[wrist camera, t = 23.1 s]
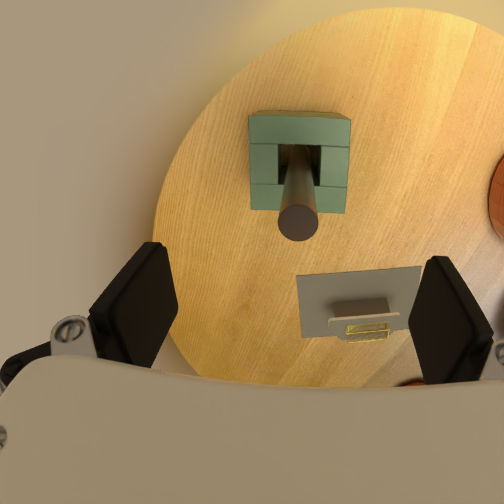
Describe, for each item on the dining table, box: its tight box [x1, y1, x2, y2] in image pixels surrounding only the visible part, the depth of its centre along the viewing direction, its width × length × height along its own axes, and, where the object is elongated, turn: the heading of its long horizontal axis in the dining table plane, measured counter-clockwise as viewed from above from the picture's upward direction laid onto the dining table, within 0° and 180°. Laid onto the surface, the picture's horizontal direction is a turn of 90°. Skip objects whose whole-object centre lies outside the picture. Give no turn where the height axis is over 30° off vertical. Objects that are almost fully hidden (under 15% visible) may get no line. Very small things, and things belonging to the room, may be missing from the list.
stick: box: [278, 144, 318, 241], centre depth 25 cm, size 2×2×20 cm
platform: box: [296, 266, 422, 343], centre depth 40 cm, size 12×18×7 cm, turn 100°
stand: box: [248, 111, 351, 214], centre depth 30 cm, size 9×9×8 cm
